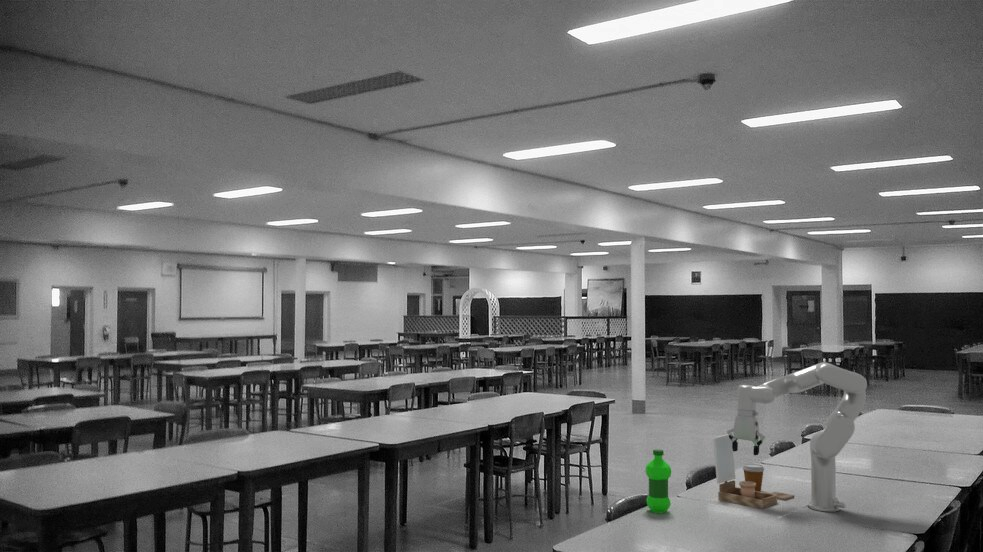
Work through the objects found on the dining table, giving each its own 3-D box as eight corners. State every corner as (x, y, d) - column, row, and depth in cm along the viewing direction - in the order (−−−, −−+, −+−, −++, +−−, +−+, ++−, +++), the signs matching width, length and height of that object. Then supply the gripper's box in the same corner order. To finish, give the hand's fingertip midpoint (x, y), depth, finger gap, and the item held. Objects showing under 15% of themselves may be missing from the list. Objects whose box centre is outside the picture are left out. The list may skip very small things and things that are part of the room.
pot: (758, 501, 322) (758, 482, 323) (751, 504, 318) (751, 485, 318) (744, 498, 327) (744, 480, 328) (736, 501, 323) (736, 482, 323)
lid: (731, 434, 337) (729, 434, 338) (714, 437, 327) (713, 437, 328) (735, 478, 335) (733, 478, 336) (718, 483, 325) (716, 483, 325)
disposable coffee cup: (766, 494, 337) (765, 468, 338) (744, 493, 339) (743, 466, 340) (762, 489, 346) (762, 463, 347) (741, 488, 348) (741, 462, 349)
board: (794, 498, 330) (794, 495, 330) (785, 502, 324) (785, 498, 324) (774, 494, 337) (774, 491, 337) (765, 498, 331) (765, 494, 331)
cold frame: (777, 504, 320) (776, 457, 321) (761, 510, 310) (761, 461, 311) (729, 494, 336) (729, 450, 337) (713, 500, 327) (713, 454, 328)
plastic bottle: (669, 508, 312) (668, 448, 313) (672, 515, 302) (672, 453, 303) (644, 507, 313) (644, 447, 314) (647, 514, 303) (647, 452, 304)
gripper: (769, 415, 321) (768, 455, 320) (732, 410, 333) (731, 448, 333) (761, 416, 316) (760, 457, 315) (723, 411, 328) (722, 450, 327)
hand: (745, 453), depth 324 cm, fingers open, 9 cm apart
